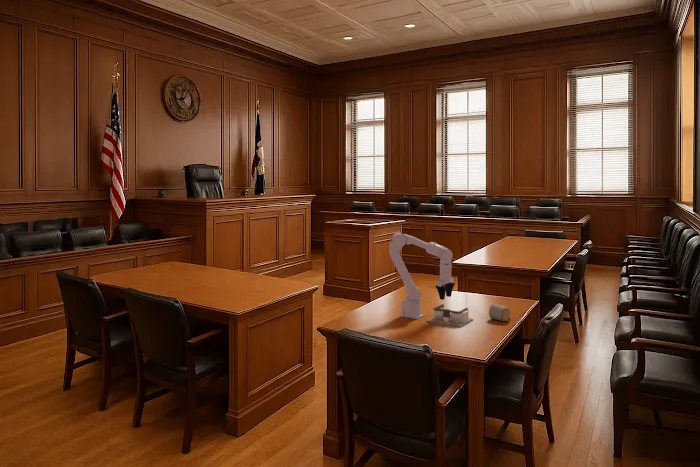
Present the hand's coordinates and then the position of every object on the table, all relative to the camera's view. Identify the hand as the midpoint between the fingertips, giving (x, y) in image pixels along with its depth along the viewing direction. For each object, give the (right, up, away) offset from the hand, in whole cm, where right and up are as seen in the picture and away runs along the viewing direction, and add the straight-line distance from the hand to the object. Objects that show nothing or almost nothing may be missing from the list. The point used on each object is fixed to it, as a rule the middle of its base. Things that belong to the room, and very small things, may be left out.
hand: (445, 297), depth 261 cm
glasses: (+1, -9, -8) cm, 12 cm away
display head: (+1, -10, -9) cm, 13 cm away
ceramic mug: (+26, -10, -7) cm, 29 cm away
